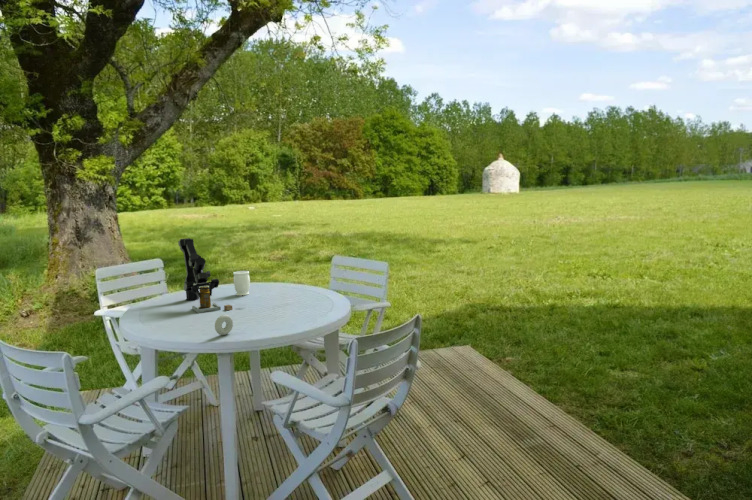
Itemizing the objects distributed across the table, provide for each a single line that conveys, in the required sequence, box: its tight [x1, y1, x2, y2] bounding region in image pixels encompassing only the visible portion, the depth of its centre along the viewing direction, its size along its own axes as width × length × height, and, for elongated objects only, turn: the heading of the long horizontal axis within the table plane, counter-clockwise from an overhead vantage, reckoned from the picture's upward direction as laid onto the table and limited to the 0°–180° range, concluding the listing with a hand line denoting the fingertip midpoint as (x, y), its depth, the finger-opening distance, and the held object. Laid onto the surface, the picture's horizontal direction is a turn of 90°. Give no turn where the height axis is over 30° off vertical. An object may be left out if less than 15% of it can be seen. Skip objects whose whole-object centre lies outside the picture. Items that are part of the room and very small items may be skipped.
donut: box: [214, 314, 234, 336], centre depth 269 cm, size 10×4×10 cm, turn 143°
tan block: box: [223, 304, 233, 311], centre depth 322 cm, size 4×3×2 cm
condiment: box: [198, 286, 213, 309], centre depth 324 cm, size 7×8×12 cm
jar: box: [232, 270, 251, 297], centre depth 362 cm, size 11×10×15 cm
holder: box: [191, 302, 221, 314], centre depth 324 cm, size 13×13×2 cm
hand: (205, 296), depth 323 cm, fingers closed on condiment, 6 cm apart
